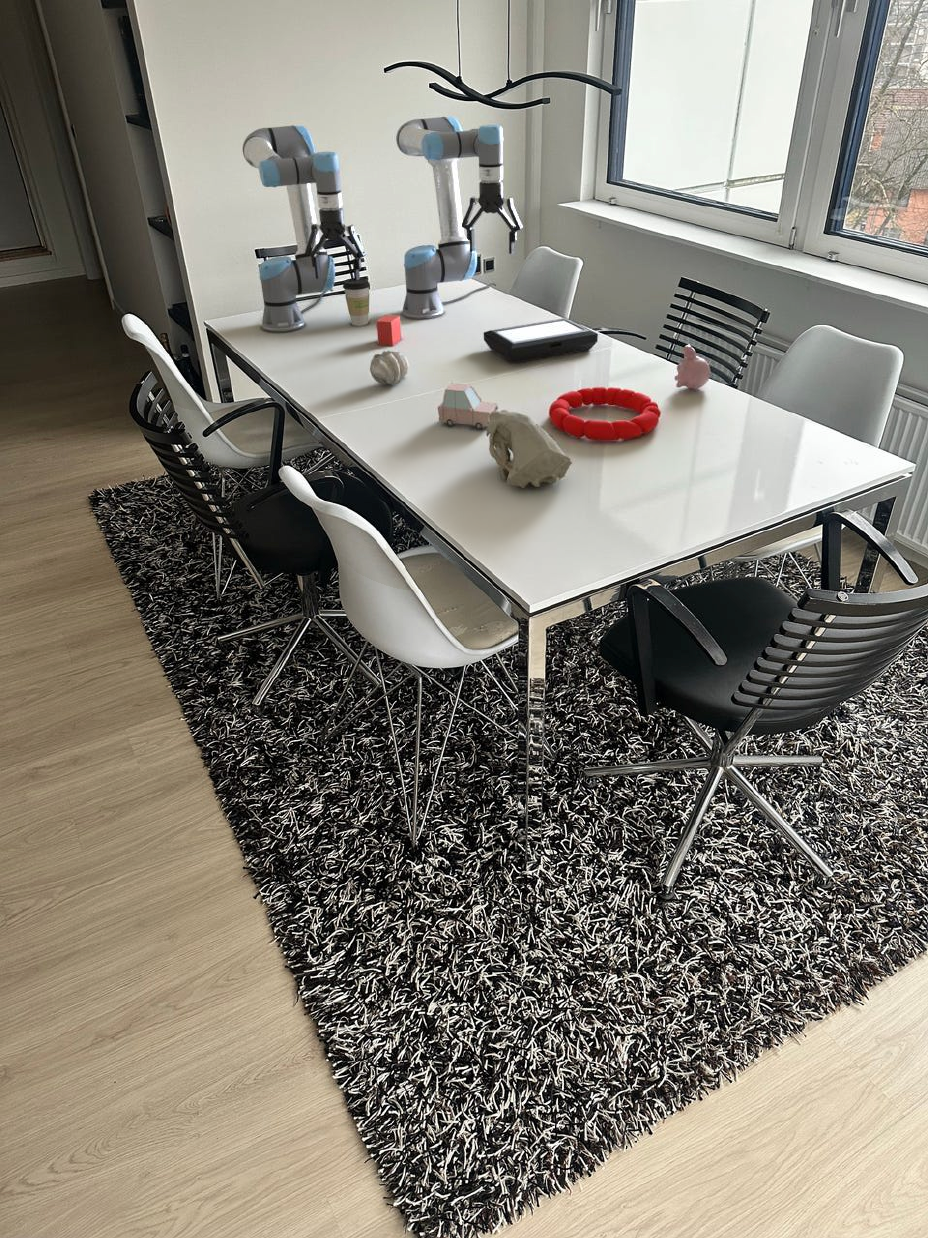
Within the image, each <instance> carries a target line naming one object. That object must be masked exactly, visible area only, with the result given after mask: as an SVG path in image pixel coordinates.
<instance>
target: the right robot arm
mask: <svg viewBox="0 0 928 1238" xmlns="http://www.w3.org/2000/svg"><path fill="white" fill-rule="evenodd" d="M503 134H504V133H503V127H502V126H501V125H499V124H484V125H480V126H479V128H471V129H469V130H463V129H462V126H461V124H460V122H459V120H457V119H456V118H455V117H453V116H439V117H438V116H437V117H430V118H429V117H428V118H414V119H412V120H411V119H410V120H408V121H406V122H404V123H403V124H402V125H401V126H399V129H398V130H397V132H396V135H395V137H396V138H395V141H396V145H397V148H398V149H399V151H400V152H401V153H403V154H404V155H406V156H409V157H424V159H425V160H426V161H427V163H428V164H429V165H430V166H431V167H432V173H433V180H434V188H435V198H436V205H437V214H438V221H439V223H438V224H439V228H440V229H439V230H440V240H439V241H438V243H437V248H436V246H435V245H433V244H427V245H425V244H424V245H418V246H414V247H411V248H409V249H408V250H407V251H406V252H405V253H404V259H403V260H404V261H403V262H404V264H403V266H404V276H405V290H406V291H405V293H406V294H405V297H404V301H403V305H402V315H403V316H404V317H406V318H408V319H413V320H428V319H434V318H438V317H441V316H442V315H443V314H444V305H445V304H446V305H447V304H451V303H455V302H457V301H461V300H463V299H465V298H467V297H468V296H470V295H472V294H474V293H476V292H478V291H482V290H485V289H487V288H490V287H491V286H494V287H495V286H497V284H496V283H495V282H491V283H489V284H488V285H486V286H482V287H479V288H476V289H474V290H471V291H470V292H468V293H467V294H465V295H463V296H460V297H458V298H455V299H451V300H448V301H447V300H446V301H442V300H441V298H440V295H439V291H438V290H439V289H438V284H443V283H451V282H452V283H453V282H462V281H466V280H470V279H472V278H473V277H474V275H475V272H476V270H477V265H478V257H477V256H478V255H477V251H476V245H475V243H476V241H475V229H474V228H473V227H474V226H475V225H476V223H477V222H478V220H479V219H480V218H481V216H482V215H483V214H484V213H485V214H497V215H498V216H500V218H501V219H502V221H504V223H505V224H506V226H507V227H508V229H509V230H510V231H509V232H508V254H510V255H512V254H513V253H514V252H515V243H517V239H518V235H517V234H518V231H520V230H522V229H523V224H522V222H521V220H520V217H519V215H518V212H517V211H516V208H515V206H514V199H513V197H509V198H504V182H503V181H502V180H503V179H504V164H503V162H504V156H503V155H504V135H503ZM464 158H478V180H479V181H480V182H478V188H479V189H478V190H479V197H476V196H472V197H469V205H468V208H467V210H466V212H465V215H464V217H463V210H462V202H461V201H462V200H461V192H460V184H459V183H460V182H459V174H458V166H457V163H458V162H459V160H460V159H464ZM477 204H479V206H480V208H479V209H478V211H477V212H476V214H475V215H474V216H473V218H472V219H471V220H470V218H471V216H472V214H473V212H474V209H475V207H476V205H477ZM504 205H505V206H506V207H507V209H508V211H509V214H510V216H509V214H508V213H507V212H506V211H505V209H504V207H503V206H504ZM510 217H511V218H510ZM465 230H466V235H465Z"/></svg>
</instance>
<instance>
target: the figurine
mask: <svg viewBox="0 0 928 1238" xmlns="http://www.w3.org/2000/svg"><path fill="white" fill-rule="evenodd" d="M682 354H683V358H684V359H683V361H682V362H679V363H678V364H677V365H676V372H677V375H675V376H674V381H675V382H676V381H677V382H676V384H675V386H676V388H681V387H686V388H688V389H693V390H694V389H695V390H696V389H700V388H703V387H704V386H705V385H706V384H707V383H708V382H709V379H710V377H711V367H710V364H709V362H708V361H706V359H704V358H702V357H700V356H697V353H696V350H695V349H694V347H692V345H690V344H686V345H685V346H684V347H683V348H682Z"/></svg>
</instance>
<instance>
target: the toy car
mask: <svg viewBox="0 0 928 1238" xmlns="http://www.w3.org/2000/svg"><path fill="white" fill-rule="evenodd" d="M498 409H499V404H498V403H497V402H490V401H489V402H487V401H483V397H481V396H480V395H479V394H478V393H477V391H476V390H475V389H474V386H472V384H469V383H459V382H451V383H450V384H449V385H448V386H447V387H446V388H445V389H444V394H443V399H442V403H440V404H439V405H438V406H437V413H438V421H439V422H443V423H446V425H447V426H448V427H452V426H454V425H455V424H461V425H469V426H473V427H475V429H476V430H479V431H480V430H481V429H483V428H485V427H486V428H487V423H488V422H490V414H491V413H492V412H496V411H499V410H498Z"/></svg>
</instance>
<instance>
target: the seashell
mask: <svg viewBox="0 0 928 1238" xmlns="http://www.w3.org/2000/svg"><path fill="white" fill-rule="evenodd" d="M369 371H370V374H371V377H372V378H373V380H374V381H375V382H376V383H378V384H380V385H387V384H389V385H396V384H397V385H398V384H399V383H401V382H402V380H404V378H405V377H406V376H407V375H408V372H409V361H408V359H407V357H406V355H404V354H402V353H400V352H399V351H398V352H397V351H389V350H387V351H385V350H383V351H382V353H376V354H374V355H373V357H372V359H371V361H370V365H369Z"/></svg>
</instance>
